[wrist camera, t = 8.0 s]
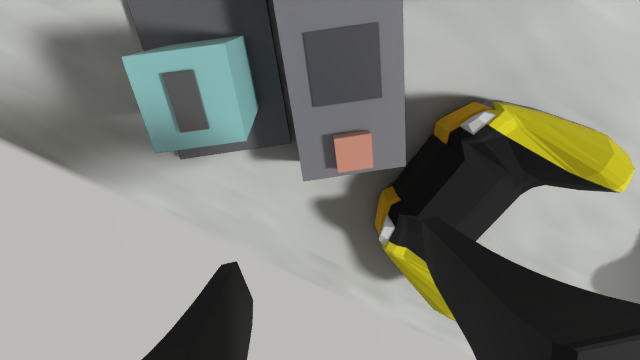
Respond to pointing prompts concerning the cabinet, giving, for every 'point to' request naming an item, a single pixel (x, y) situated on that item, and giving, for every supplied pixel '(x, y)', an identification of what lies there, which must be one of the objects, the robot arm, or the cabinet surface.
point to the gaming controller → (488, 177)
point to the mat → (212, 23)
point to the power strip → (344, 83)
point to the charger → (194, 93)
